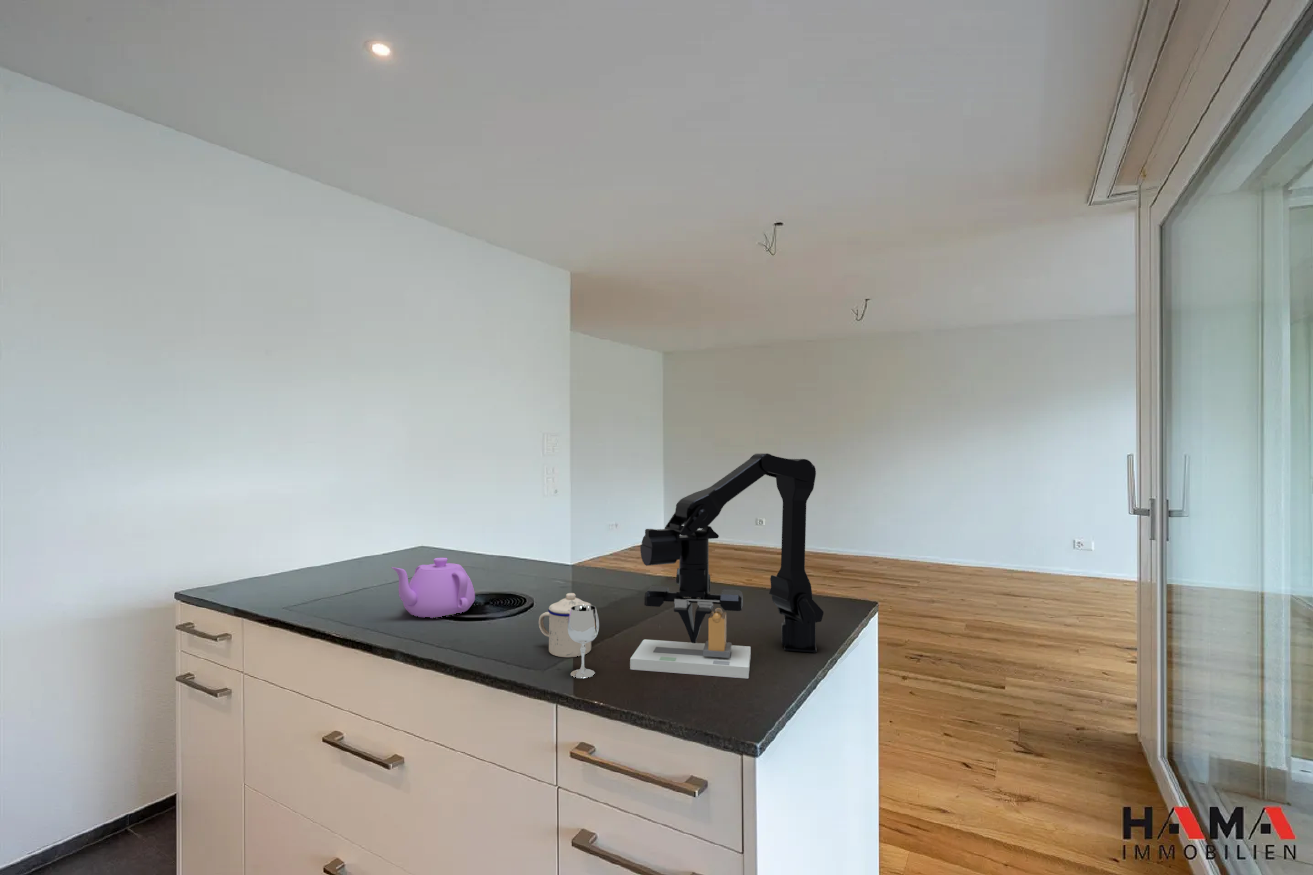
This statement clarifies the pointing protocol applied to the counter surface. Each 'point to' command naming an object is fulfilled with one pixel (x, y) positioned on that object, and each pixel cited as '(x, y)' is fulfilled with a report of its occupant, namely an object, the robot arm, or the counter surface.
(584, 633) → the wineglass
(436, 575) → the teapot
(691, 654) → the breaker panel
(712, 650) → the toggle
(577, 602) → the teacup with lid
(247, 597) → the counter surface
